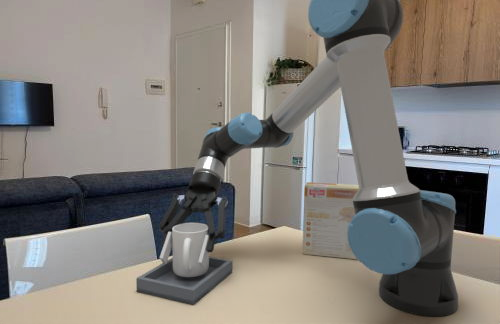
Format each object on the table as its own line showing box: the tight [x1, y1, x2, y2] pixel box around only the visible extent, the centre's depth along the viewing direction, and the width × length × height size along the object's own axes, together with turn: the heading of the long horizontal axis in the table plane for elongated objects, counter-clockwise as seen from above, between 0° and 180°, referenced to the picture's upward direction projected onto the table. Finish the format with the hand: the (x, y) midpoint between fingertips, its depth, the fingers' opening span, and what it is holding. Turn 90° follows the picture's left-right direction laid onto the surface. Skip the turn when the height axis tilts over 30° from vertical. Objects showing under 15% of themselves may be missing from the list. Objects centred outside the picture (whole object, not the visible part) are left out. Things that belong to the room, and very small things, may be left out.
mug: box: [171, 222, 210, 277], centre depth 85 cm, size 12×8×10 cm
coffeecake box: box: [302, 182, 359, 261], centre depth 105 cm, size 15×7×20 cm, turn 76°
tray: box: [135, 255, 234, 306], centre depth 85 cm, size 14×18×3 cm
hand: (182, 262), depth 82 cm, fingers closed on mug, 8 cm apart
